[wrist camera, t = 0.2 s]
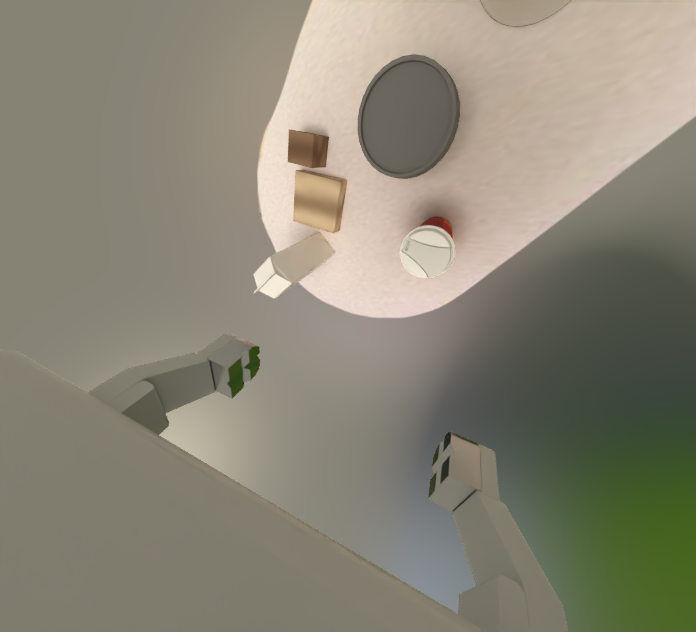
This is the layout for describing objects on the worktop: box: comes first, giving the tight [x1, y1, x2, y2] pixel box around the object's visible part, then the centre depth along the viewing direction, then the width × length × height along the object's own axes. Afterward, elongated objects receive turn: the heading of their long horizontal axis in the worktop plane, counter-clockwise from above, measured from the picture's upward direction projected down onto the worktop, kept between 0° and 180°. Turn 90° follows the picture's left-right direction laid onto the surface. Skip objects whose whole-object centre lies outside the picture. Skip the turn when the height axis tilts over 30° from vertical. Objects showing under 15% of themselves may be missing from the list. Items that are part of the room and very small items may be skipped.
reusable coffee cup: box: [358, 55, 460, 179], centre depth 38 cm, size 12×13×15 cm
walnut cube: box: [288, 130, 329, 168], centre depth 49 cm, size 5×5×6 cm
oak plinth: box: [293, 170, 347, 233], centre depth 55 cm, size 10×10×3 cm
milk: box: [254, 232, 335, 299], centre depth 53 cm, size 6×6×22 cm
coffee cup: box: [400, 217, 455, 278], centre depth 44 cm, size 8×8×15 cm
